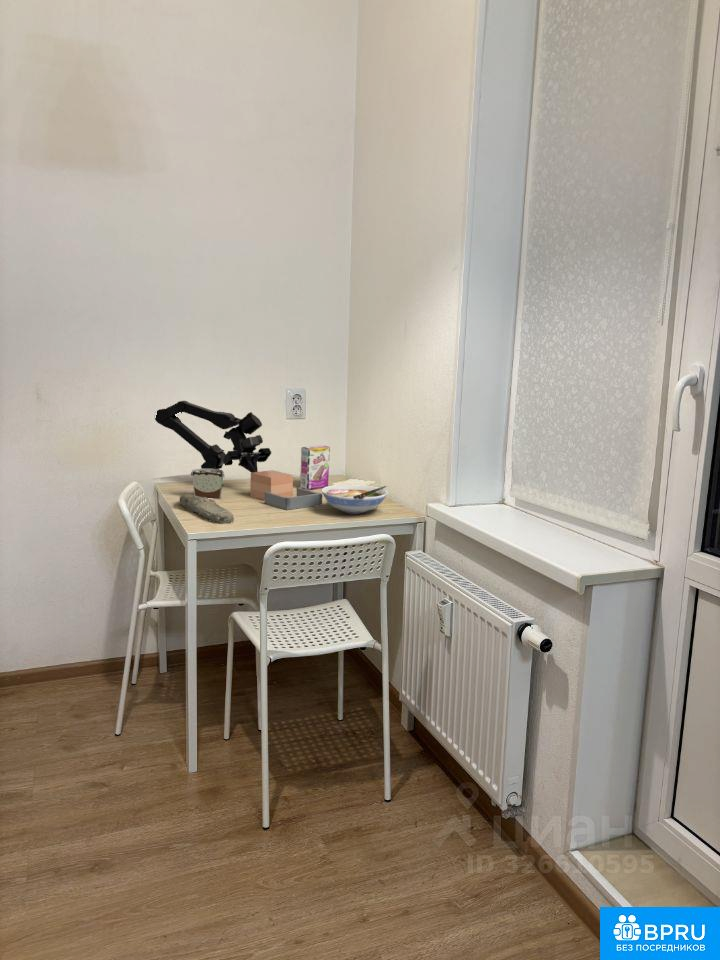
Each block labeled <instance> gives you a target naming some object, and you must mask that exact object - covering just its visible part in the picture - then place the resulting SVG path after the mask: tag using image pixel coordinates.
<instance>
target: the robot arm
mask: <svg viewBox="0 0 720 960" xmlns="http://www.w3.org/2000/svg"><path fill="white" fill-rule="evenodd" d="M156 411H157V415H156V418H155V417H154V420H155V422H156V423H157V424H159V425H161V426H162V427H164V428H166V429H170V430H172V431H173V432H174V433H176V434H177V435H178V436H179V437H180V438H182V439H183V440H184V441H186V443H188V444H189V445H191V447H192V448H194V449H195V450H197V452H199V454H200V455H201V457H202V458H203V460H204V462H203V463H202V464H201V465H200V469H219V470H222V468H223V466H226V467H227V466H232V465H233V463H234V462H233V461H238V462H239V463H238V467H242V468H244V469H245V470H246V471H248V472H250V474H251V473H253V472H259V470H258V463H264V462H266V461H267V460H268V459H269V458H270V456H271V454H272V451H271V449H270V448H269V447H262V448H261V447H260V448H259V449H258V451H256V450H257V448H256V447H258V446H260V445H261V444H263V442H264V440H263V437H262V436H261V434H256V435H255V436H249V437H247V436H246V435H252V434H254V433H255V432H256V431H257V430H259V429H260V428H261V427H262V426H263V423H262V421H261V419H260V418H259V417H258V416H256V415H255V414H253V412H252V411H250V412H247V414H246V415H245V416H244V417H242V418H238V417H235V415H234V414H233V413H231V412H224V411H215V410H211V409H209V408H206V407H203V406H200V405H197V404H195V403H192V402H189V401H187V400H179V401H177V402H176V403H174V404H172V405H170V406H168V407H166V409H165V408H161V409H158V410H156ZM179 412H181V414H182V412H183V413H185V414H187V415H192V416H193V417H196V418H200V419H202V420H206V421H207V422H208V421H209V422H210V423H211V424H212V425H214V426H215V427H217V428H219V429H220V430H226V431H225V433H224V435H223V436H222V437H223V438H224V439H226V440H228V441H229V440H230V441H231V443H232V445H233V448H232V450H228V451H227V452H225V450H224V449H222V448H221V447H220V446H219V445H218V444H213V445H211V444H208V443H207V442H206V441H205V440H204V439H203V438H201V437H200V436H199V435H198V434H197V433H196V432H194V431H193V430H191V428H189V427H188V426H187V425H186V424H185V423H183V422H182V421H181V418H180V417H179V418H180V419H179V418H178V417H176V416H175V414H177V413H179ZM228 429H229V430H228ZM227 430H228V431H227ZM223 486H224V484H223V483H222V487H223Z"/></svg>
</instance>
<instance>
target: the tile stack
mask: <svg viewBox="0 0 720 960" xmlns="http://www.w3.org/2000/svg"><path fill="white" fill-rule="evenodd" d="M293 487H294V474H292V473H286V472H282V471H277V470H274V469H270V470H264V471H263V470H262V471H258V472H253V473H251V472H250V497H251V496H253V497H252V498H254V497H256V498H255V499H257V498H259V499H258V500H261V499H263V500H262V501H264V500H265V492H270V493H273V494H277V495H280V496H284V497H287V498H289V497H294V495H293V494H294V493H293V492H294V491H293V489H294V488H293Z"/></svg>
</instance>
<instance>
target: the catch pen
mask: <svg viewBox="0 0 720 960" xmlns="http://www.w3.org/2000/svg"><path fill="white" fill-rule="evenodd" d="M265 503H266V504H265ZM264 504H265V505H269V504H270V505H269V506H272V505H273V506H272V507H275V506H276V507H275V508H278V507H279V509H281V510H285V509H286V510H285V511H290V510H289V509H292V510H296V508H298V509H303V507H305V508H310V507H317V506H322V505H323V493H320V492H317V491H314V490H313V491H312V490H306V489H302V488H300V487H296V496H293V497H289V498H287V497H284V496H280V495H277V494H273V493H270V492H265V501H264Z"/></svg>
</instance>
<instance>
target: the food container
mask: <svg viewBox="0 0 720 960" xmlns="http://www.w3.org/2000/svg"><path fill="white" fill-rule="evenodd" d="M190 477H192V486H193V495H196V496H199V497H206V498H213V499H212V500H221V499H222V492H223V491H222V487H223V486H222V484H223V479H224V478H225V477H226V476H225V473H224V470H222V469H202V468H197V469H196V468H195V469H192V470H191V473H190ZM220 498H221V499H220Z"/></svg>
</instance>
